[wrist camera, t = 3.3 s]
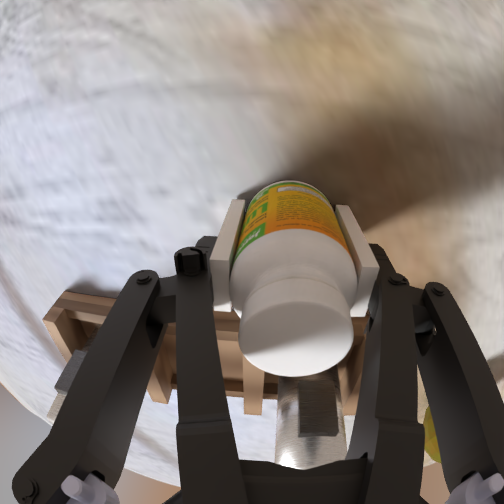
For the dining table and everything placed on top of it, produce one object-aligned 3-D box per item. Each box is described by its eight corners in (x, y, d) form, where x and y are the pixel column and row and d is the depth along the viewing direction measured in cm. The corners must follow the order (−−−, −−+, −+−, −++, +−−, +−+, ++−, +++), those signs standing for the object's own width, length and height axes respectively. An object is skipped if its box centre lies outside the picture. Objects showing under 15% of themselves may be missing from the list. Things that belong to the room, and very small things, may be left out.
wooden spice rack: (64, 291, 23) (42, 319, 20) (376, 315, 21) (388, 353, 18) (94, 355, 28) (79, 382, 24) (350, 380, 26) (355, 414, 22)
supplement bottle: (257, 167, 16) (233, 261, 8) (346, 193, 17) (403, 302, 8) (237, 246, 19) (206, 372, 11) (316, 266, 19) (333, 394, 11)
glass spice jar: (85, 314, 23) (32, 403, 14) (130, 322, 22) (82, 424, 14) (103, 353, 25) (64, 435, 17) (145, 362, 25) (111, 453, 17)
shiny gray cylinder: (281, 336, 22) (277, 462, 13) (343, 337, 21) (361, 458, 13) (276, 376, 24) (271, 482, 16) (329, 377, 24) (337, 480, 16)
